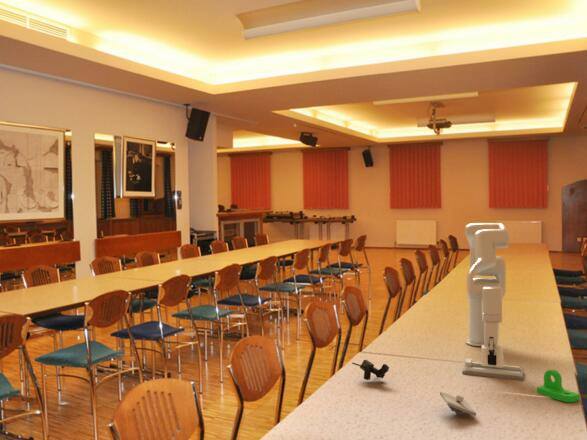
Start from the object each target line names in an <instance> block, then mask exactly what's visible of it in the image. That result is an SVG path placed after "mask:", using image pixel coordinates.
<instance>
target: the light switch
mask: <svg viewBox="0 0 587 440" xmlns="http://www.w3.org/2000/svg"><path fill="white" fill-rule="evenodd" d="M439 396H440V397H441V398H442V399H443V401H444V402H445V403H446V405H447V407H448V408H449V409H450V410H451V411H452V412H454V413H455V414H457V415H462V414H463V413H466V414H469V415H472V416H474V417H476V416H477V412H476V411H475V410H474V408H472V406H471V404H469V403H468V401H466V400H464V399H465V397H464V396H462V395H461V394H456V396H453V395H450V394H447V393H445V392H442V391H440V392H439Z"/></svg>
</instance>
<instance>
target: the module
mask: <svg viewBox="0 0 587 440" xmlns="http://www.w3.org/2000/svg"><path fill="white" fill-rule="evenodd" d="M480 347H481V349H480V353H481V354H480V357H481V359H480V361H481V362H480V363H481V366H490V367H500V368H503V365H504V346H499V345H498V346H497V348H496V365H488V346H486V347H485V346H484V345H482V346H480ZM489 347H490V346H489ZM493 347H495V346H493ZM493 350H494V349H493Z"/></svg>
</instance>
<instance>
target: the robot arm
mask: <svg viewBox="0 0 587 440" xmlns="http://www.w3.org/2000/svg"><path fill="white" fill-rule="evenodd" d="M464 233H465V238H466V241H467V243H468V246H469V270H468V271H467V274H466V294H467V299H468V338H466V339H465V343H466V345H469V346H472V347H473V346H474V347H482V345H484V346H485V347H486V346H488V365H496V348H497V346H499V337H500V324H501V323H503V298H504V297H505V295H506V292H507V291H506V290H507V289H506V287H507V285H506V283H507V281H506V280H507V267H506V266H507V265H506V261H505V259H504V258H503V256H500V255H497V249H507V248H508V247H509V245H510V241H511V239H510V234H509V231H508V229H507V227H506V225H505V224H504V223H501V222H474V223H473V222H472V223H471V222H470V223H468V224H466V225H465V227H464ZM476 276H477V277H476ZM489 346H490V347H489ZM493 346H495V347H493ZM493 349H494V350H493Z"/></svg>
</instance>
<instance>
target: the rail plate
mask: <svg viewBox="0 0 587 440" xmlns="http://www.w3.org/2000/svg"><path fill="white" fill-rule="evenodd" d="M461 372H462V374H463V375H471V376H479V377H480V376H481V377H487V378H488V377H490V378H497V379H505V380H506V379H507V380H518V381H523V380H524V378H523V376H524V374H523V372H524V371H523V369H522V368H521V367H520V366H517V365H516V366H515V365H504V364H503V368H500V367H490V366H481V362H477V361H476V362H475V361H473V358H471V357H470V358H469V357H467V358H466V360H465V364H464V365H463V367H462V370H461Z"/></svg>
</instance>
